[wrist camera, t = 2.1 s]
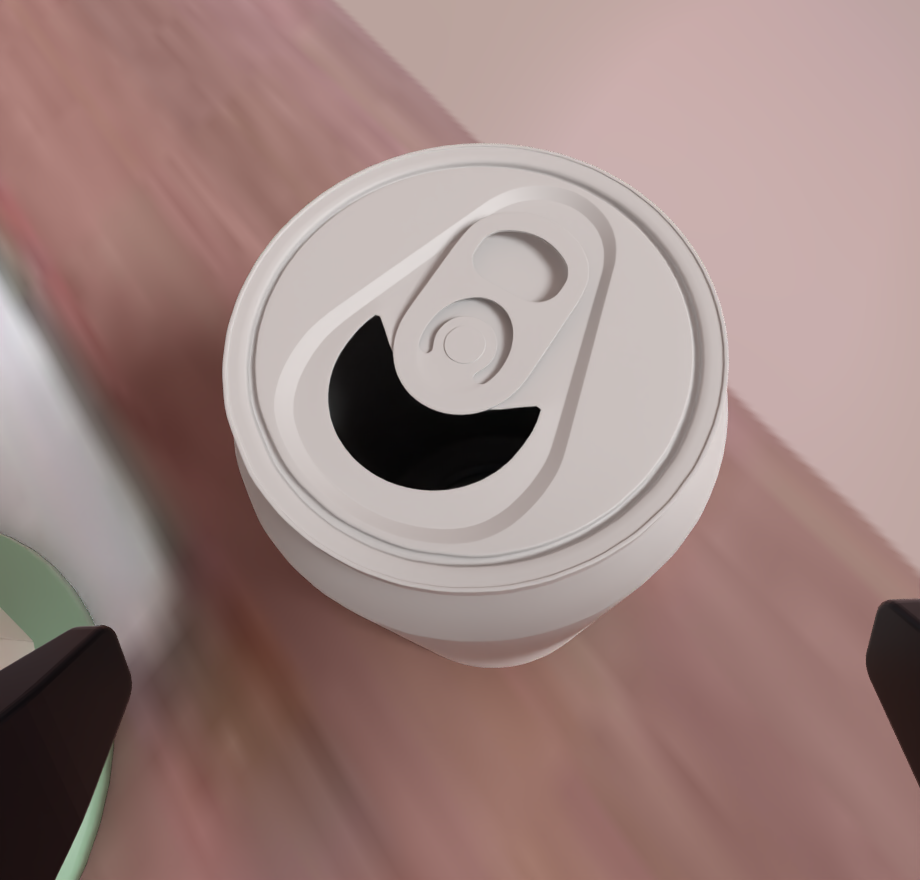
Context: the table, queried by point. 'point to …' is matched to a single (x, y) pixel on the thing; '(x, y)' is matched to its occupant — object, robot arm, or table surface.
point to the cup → (32, 625)
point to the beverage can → (478, 396)
